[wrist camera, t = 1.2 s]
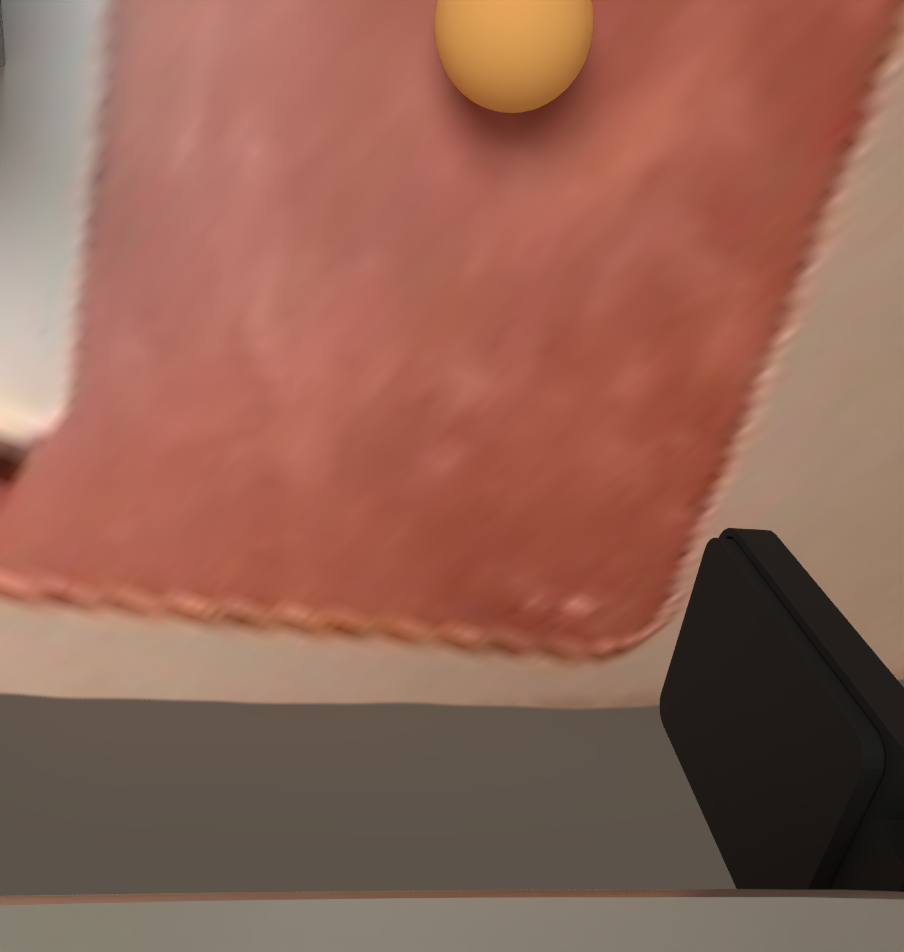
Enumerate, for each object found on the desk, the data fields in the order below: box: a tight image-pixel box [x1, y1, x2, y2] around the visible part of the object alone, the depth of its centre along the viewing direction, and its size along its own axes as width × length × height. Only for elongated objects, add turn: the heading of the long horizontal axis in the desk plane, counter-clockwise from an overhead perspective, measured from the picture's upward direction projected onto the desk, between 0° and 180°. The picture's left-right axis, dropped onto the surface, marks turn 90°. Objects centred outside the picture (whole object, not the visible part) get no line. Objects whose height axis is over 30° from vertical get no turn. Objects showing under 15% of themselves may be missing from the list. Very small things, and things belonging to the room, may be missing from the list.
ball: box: [434, 0, 594, 113], centre depth 27 cm, size 5×5×5 cm
